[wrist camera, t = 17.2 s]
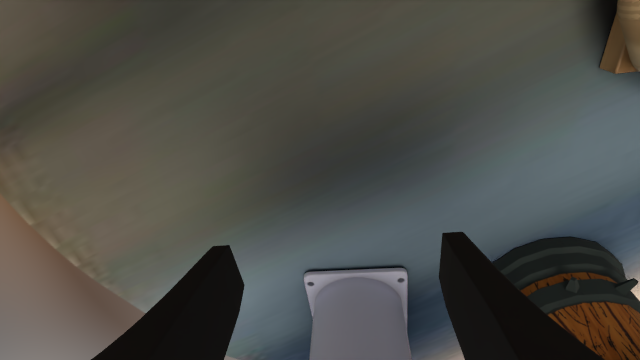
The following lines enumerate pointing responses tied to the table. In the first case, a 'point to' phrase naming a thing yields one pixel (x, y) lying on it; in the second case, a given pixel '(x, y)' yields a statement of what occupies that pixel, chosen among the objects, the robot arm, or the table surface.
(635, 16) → the ring
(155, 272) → the table surface
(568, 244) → the mug
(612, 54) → the peg stand
